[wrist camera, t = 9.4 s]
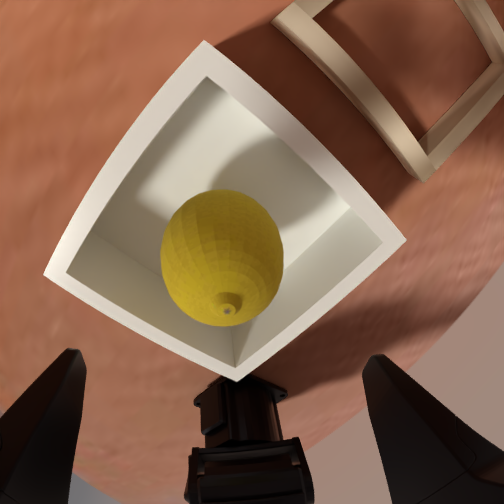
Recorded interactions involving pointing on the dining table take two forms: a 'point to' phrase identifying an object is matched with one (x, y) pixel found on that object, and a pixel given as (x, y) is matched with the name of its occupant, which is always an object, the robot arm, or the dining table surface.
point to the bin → (213, 178)
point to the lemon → (222, 258)
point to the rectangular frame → (374, 103)
